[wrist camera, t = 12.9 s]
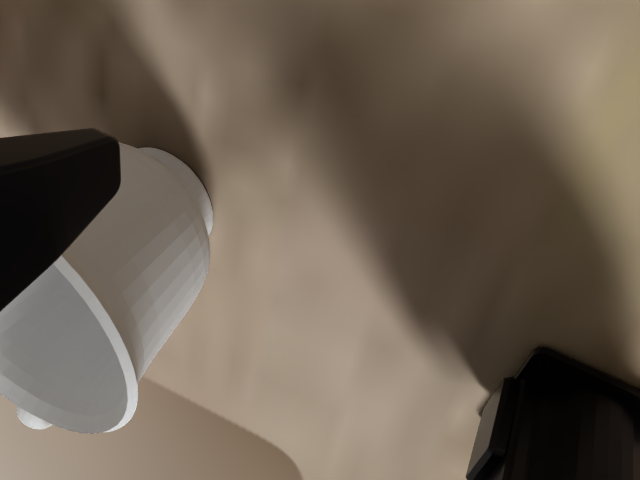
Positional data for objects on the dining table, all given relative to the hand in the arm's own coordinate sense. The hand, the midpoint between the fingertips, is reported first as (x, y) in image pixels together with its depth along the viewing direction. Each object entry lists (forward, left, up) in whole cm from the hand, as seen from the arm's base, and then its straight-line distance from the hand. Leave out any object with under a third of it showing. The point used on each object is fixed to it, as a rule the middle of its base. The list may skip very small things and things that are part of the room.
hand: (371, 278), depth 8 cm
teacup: (+13, +14, -13) cm, 23 cm away
